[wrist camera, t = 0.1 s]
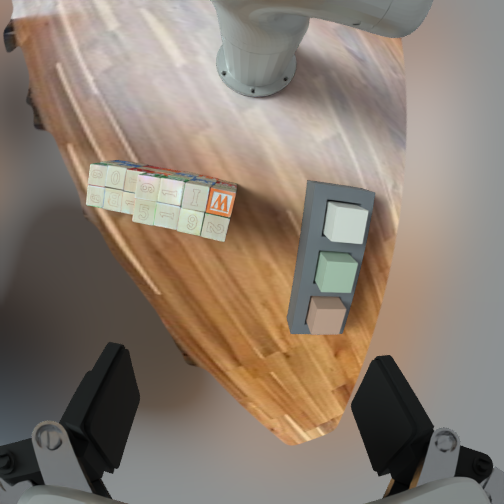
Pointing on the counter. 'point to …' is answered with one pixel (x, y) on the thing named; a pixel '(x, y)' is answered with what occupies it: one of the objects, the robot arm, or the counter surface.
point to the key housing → (323, 248)
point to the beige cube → (325, 315)
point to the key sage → (335, 271)
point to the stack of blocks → (163, 197)
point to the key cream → (344, 222)
